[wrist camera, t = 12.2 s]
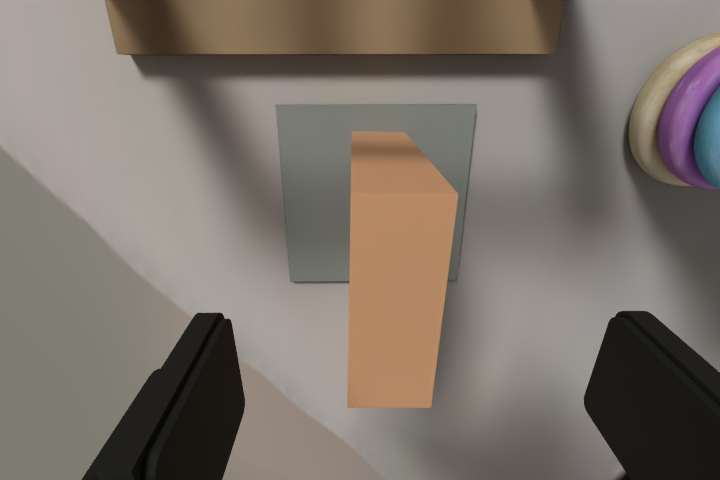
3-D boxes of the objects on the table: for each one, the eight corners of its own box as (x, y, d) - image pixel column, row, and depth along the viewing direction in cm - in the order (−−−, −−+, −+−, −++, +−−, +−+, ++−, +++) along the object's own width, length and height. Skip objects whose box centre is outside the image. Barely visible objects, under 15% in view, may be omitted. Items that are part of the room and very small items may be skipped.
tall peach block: (404, 132, 22) (458, 194, 11) (396, 259, 25) (430, 407, 14) (351, 130, 22) (350, 192, 11) (349, 258, 25) (347, 407, 14)
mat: (474, 104, 22) (476, 104, 21) (455, 277, 26) (456, 280, 26) (277, 104, 21) (275, 105, 21) (291, 278, 26) (290, 281, 25)
